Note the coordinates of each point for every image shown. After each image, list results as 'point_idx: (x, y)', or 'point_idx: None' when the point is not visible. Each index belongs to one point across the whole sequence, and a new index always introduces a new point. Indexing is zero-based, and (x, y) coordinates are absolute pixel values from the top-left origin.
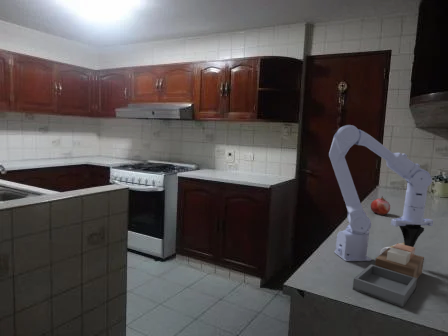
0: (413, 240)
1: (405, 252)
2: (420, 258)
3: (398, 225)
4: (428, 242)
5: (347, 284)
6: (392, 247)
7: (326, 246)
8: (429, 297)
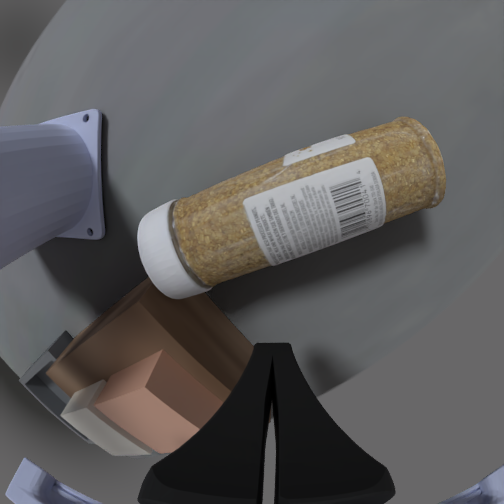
0: (275, 431)
1: (125, 447)
2: None
3: (82, 498)
4: None
5: (23, 349)
6: (207, 256)
7: (27, 64)
8: None
